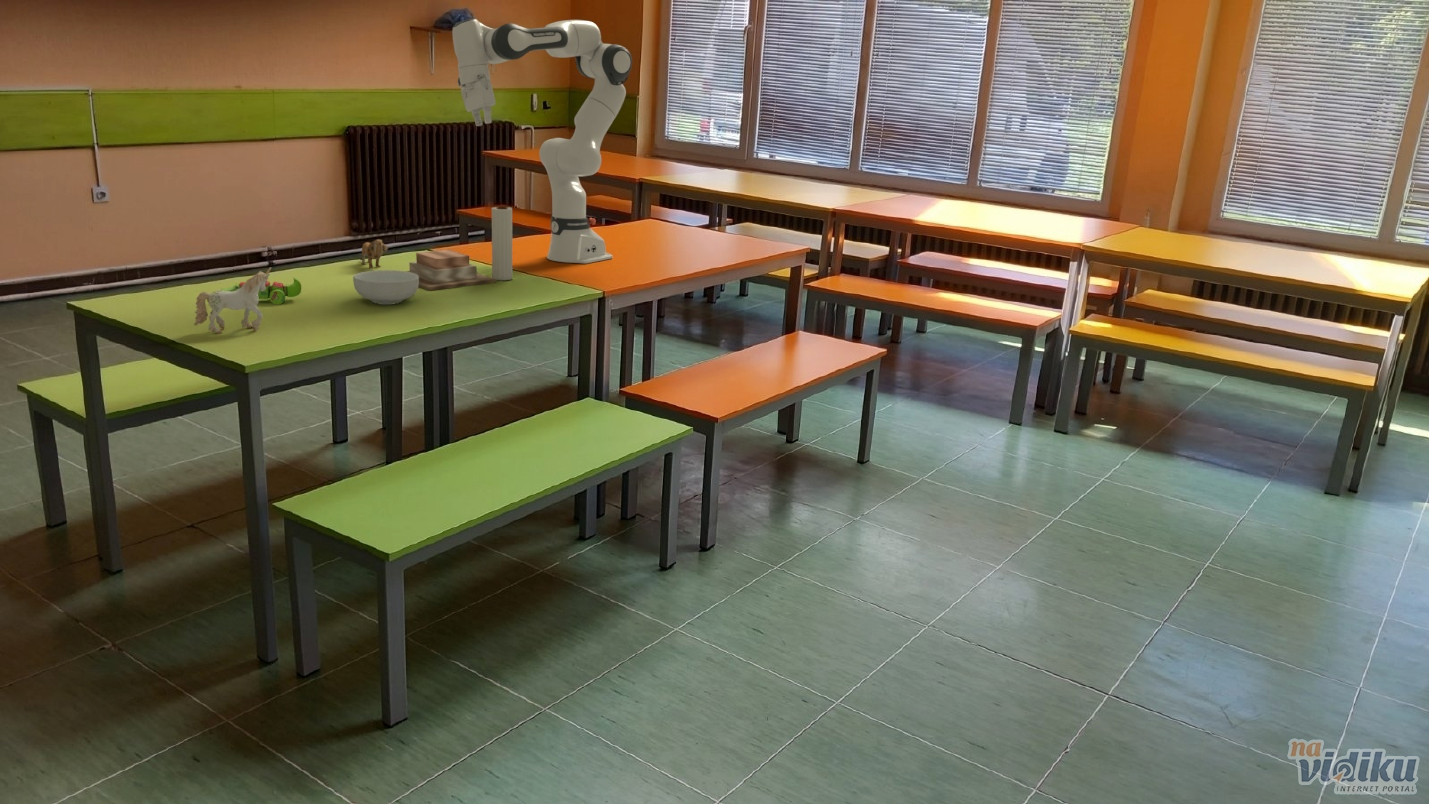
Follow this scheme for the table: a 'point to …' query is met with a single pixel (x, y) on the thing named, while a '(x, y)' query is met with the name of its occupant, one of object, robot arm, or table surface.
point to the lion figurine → (373, 252)
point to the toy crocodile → (274, 291)
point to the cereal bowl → (386, 285)
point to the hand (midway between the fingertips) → (483, 124)
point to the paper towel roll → (502, 243)
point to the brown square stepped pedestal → (446, 270)
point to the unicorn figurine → (233, 303)
